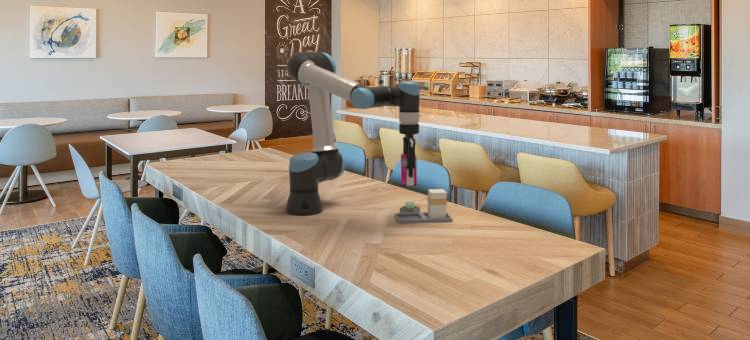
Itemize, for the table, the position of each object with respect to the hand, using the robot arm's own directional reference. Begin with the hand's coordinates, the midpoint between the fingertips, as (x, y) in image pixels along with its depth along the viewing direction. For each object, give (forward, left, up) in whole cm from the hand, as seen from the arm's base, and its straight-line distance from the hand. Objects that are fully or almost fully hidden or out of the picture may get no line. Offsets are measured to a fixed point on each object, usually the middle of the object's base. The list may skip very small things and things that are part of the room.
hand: (408, 183), depth 221 cm
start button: (-5, +9, -15) cm, 18 cm away
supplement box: (0, 0, -1) cm, 1 cm away
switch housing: (-5, +9, -15) cm, 19 cm away
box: (+9, +7, -14) cm, 18 cm away
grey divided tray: (+4, +4, -15) cm, 16 cm away
